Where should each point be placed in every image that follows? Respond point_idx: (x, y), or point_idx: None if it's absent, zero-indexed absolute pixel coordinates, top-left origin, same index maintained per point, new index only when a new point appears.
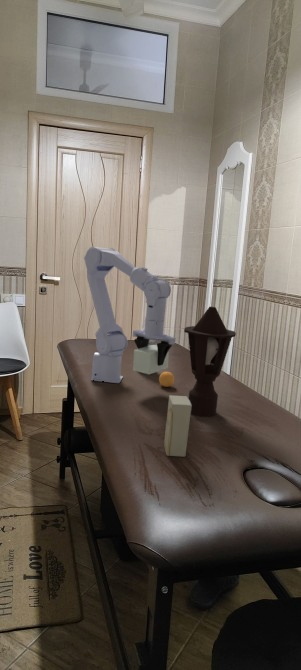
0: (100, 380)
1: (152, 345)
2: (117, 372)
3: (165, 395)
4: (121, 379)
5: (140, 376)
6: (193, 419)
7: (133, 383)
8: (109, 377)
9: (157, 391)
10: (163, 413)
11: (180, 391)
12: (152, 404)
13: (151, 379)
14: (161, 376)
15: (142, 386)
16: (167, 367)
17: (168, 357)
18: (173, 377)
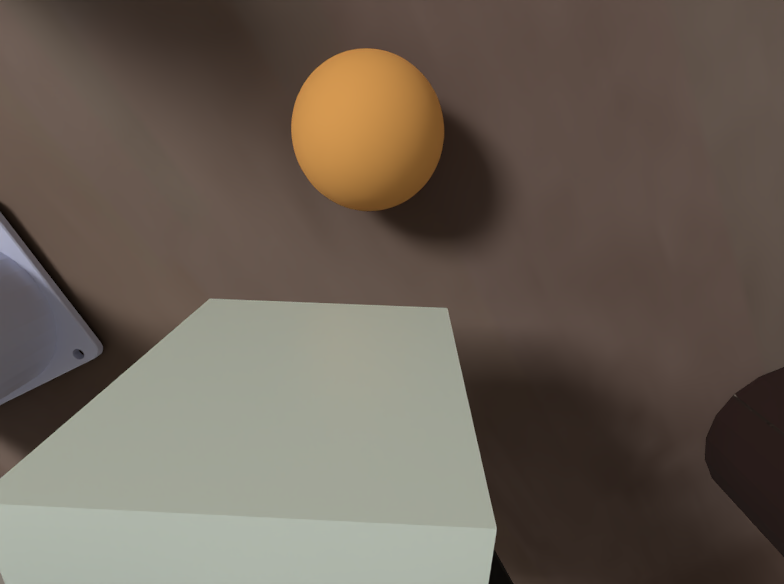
0: (2, 403)
1: (24, 567)
2: (2, 357)
3: (482, 333)
4: (41, 265)
5: (26, 24)
6: (775, 554)
7: (155, 261)
8: (18, 386)
9: (394, 297)
10: (609, 575)
11: (528, 163)
12: (501, 513)
13: (154, 30)
14: (339, 201)
15: (248, 275)
16: (447, 316)
17: (463, 380)
18: (438, 118)
